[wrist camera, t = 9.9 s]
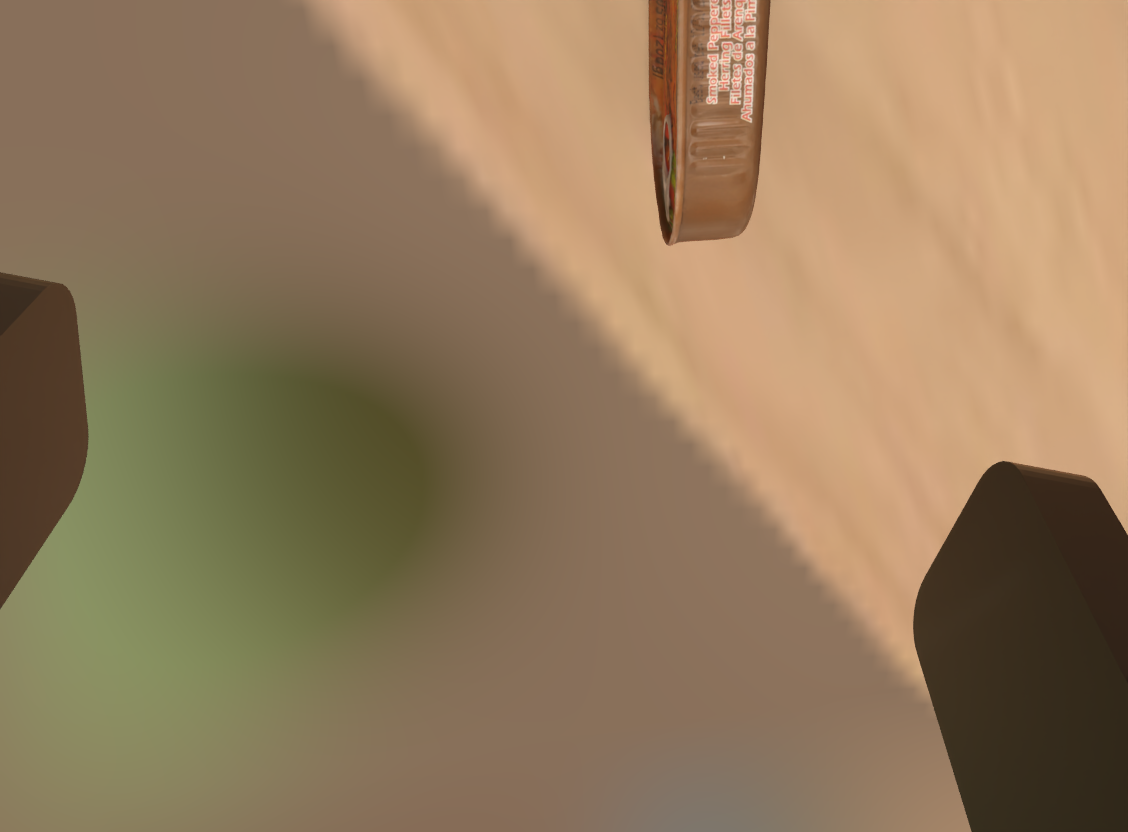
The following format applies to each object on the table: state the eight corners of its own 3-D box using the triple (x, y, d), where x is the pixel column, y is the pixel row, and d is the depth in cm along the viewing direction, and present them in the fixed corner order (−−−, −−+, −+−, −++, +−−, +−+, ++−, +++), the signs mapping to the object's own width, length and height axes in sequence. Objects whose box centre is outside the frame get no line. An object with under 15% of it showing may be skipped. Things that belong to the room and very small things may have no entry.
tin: (648, -289, 31) (656, -279, 24) (754, -295, 30) (793, -287, 24) (648, 184, 39) (654, 291, 33) (731, 182, 39) (754, 288, 32)
